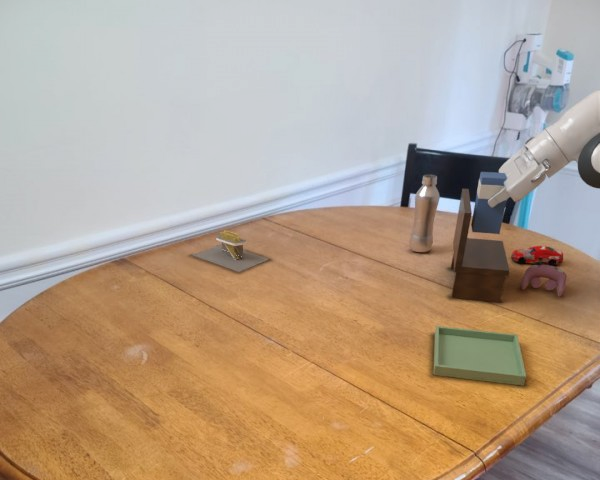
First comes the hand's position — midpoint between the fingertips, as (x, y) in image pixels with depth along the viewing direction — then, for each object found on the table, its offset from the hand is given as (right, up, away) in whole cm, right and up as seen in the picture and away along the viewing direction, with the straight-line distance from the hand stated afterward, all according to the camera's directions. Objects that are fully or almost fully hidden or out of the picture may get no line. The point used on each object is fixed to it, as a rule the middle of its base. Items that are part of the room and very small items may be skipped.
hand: (487, 200), depth 127 cm
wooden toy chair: (+1, -16, +13) cm, 21 cm away
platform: (-61, -7, +25) cm, 67 cm away
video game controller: (+16, -19, +10) cm, 27 cm away
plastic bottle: (-9, -3, +31) cm, 32 cm away
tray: (-8, -37, -17) cm, 41 cm away
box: (+1, -6, +4) cm, 7 cm away
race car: (+21, -8, +25) cm, 34 cm away
